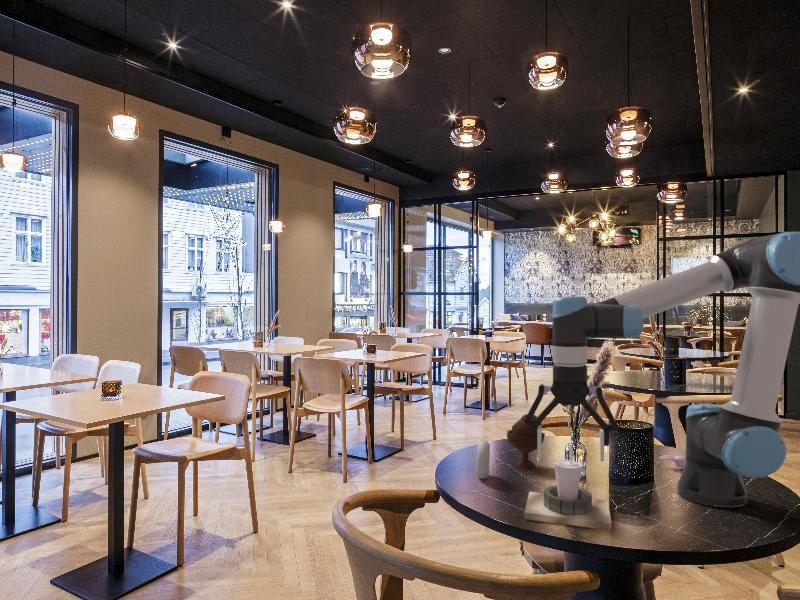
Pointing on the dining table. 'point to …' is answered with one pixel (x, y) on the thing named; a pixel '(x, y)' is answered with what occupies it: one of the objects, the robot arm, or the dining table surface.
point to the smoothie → (568, 477)
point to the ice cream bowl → (523, 441)
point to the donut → (483, 459)
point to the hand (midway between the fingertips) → (570, 457)
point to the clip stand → (568, 509)
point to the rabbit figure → (675, 460)
